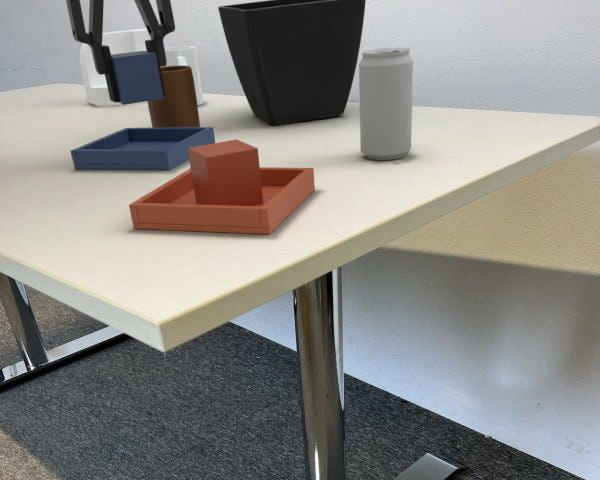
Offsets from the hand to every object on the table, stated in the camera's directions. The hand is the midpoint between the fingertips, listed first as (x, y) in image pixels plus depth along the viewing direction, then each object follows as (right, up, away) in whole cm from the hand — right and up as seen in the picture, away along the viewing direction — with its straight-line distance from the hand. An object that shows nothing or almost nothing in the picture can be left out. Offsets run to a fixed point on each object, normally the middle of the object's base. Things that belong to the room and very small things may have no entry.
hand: (137, 97), depth 88 cm
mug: (+2, +3, +18) cm, 18 cm away
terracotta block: (+15, -20, -20) cm, 32 cm away
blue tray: (0, -6, +4) cm, 8 cm away
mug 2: (-1, +17, +40) cm, 43 cm away
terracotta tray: (+15, -21, -20) cm, 32 cm away
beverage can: (+33, -10, -5) cm, 35 cm away
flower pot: (+21, +7, +22) cm, 32 cm away
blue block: (0, 0, 0) cm, 0 cm away
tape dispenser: (-14, +23, +52) cm, 59 cm away
